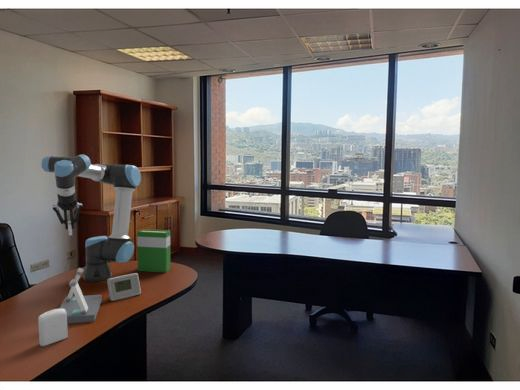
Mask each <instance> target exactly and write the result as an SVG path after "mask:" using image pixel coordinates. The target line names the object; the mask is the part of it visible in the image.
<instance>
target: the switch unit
mask: <svg viewBox="0 0 520 390" xmlns="http://www.w3.org/2000/svg"><path fill="white" fill-rule="evenodd" d="M67 297H68V296H65V297H64V299H63V301H62V302H61V303H60V306H59V307H58V309H65V310H66V313H67V324H77V323H91V322H93V323H94V322H95V321H96V318H97V315H98V312H99V309H100V307H101V304H102V301H103V300H102V294H93V295H92V294H90V295H83V297H84V299H85V301H86V304H87V306H88V310H87V312H86V313H85V314H83V313H82V311H81V309H80V306H79V304H78V302H77V299H76V297H75V295H72V298H71V300H70V301H69V302H68V301H66V299H67Z"/></svg>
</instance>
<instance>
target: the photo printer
mask: <svg viewBox="0 0 520 390" xmlns="http://www.w3.org/2000/svg"><path fill="white" fill-rule="evenodd" d="M37 323H38V337H39V341H38V342H39V345H40V346H41V347H46V346H48V345H51V344H54V343H56V342H60V341H62V340H65V339H67V338H68V336H69V335H68V330H69V329H68V323H67V313H66V310H65V309H59V308H54V309H50V310H48V311H46V312H45V311H44V312H43V313H42V314H40V315H38V317H37Z"/></svg>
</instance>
